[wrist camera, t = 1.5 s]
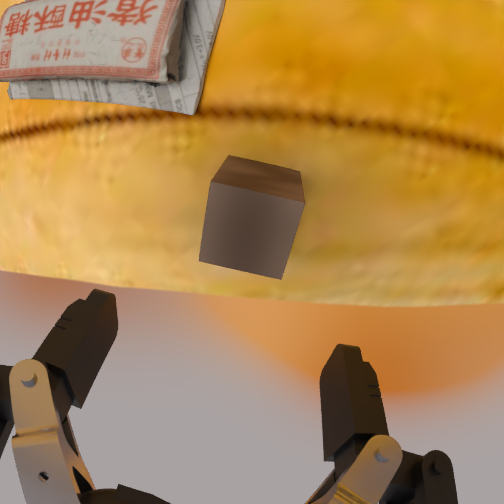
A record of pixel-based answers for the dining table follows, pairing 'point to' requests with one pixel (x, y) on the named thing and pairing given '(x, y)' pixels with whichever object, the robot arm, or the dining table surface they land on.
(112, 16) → the packaged product
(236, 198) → the walnut block
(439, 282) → the dining table surface
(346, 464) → the robot arm
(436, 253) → the dining table surface
